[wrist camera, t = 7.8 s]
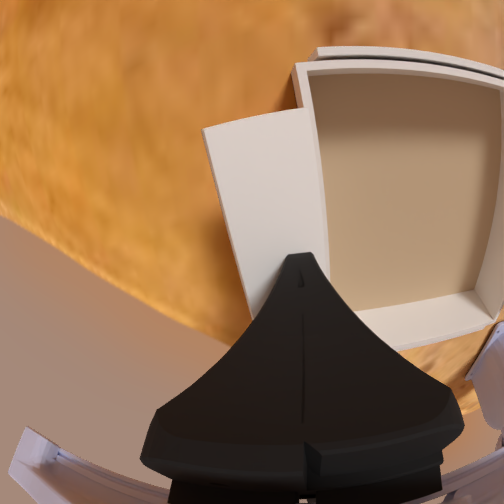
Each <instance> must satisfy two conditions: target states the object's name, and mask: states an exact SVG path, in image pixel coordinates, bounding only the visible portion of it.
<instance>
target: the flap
mask: <svg viewBox="0 0 504 504" xmlns="http://www.w3.org/2000/svg"><path fill="white" fill-rule="evenodd" d="M201 132H202V136H203V140H204V144H205V148H206V152H207V156H208V160H209V164H210V168H211V171H212V175H213V179H214V183H215V187H216V191H217V194H218V198H219V202H220V206H221V210H222V213H223V217H224V221H225V224H226V228H227V232H228V236H229V239H230V243H231V247H232V250H233V254H234V257H235V261H236V265H237V268H238V272H239V276H240V279H241V283H242V286H243V290H244V293H245V297H246V300H247V304H248V307H249V311H250V314H251V318H252V321H253V320H254V318H255V317H256V316H257V314H258V313H259V311H260V309H261V308H262V306H263V304H264V303H265V301H266V299H267V298H268V296H269V294H270V292H271V290H272V288H273V287H274V285H275V283H276V281H277V278H278V276H279V274H280V272H281V269H282V267H283V264H284V261H285V258H286V256H287V255H288V254H295V253H304V252H311V253H313V254H314V256H315V259H316V261H317V263H318V265H319V266H320V268H321V270H322V271H323V273H324V275H325V276H326V259H325V244H324V230H323V218H322V207H321V197H320V188H319V179H318V170H317V162H316V155H315V148H314V141H313V134H312V127H311V121H310V115H309V109H308V107H306V108H297V109H290V110H284V111H279V112H273V113H268V114H263V115H258V116H253V117H248V118H244V119H239V120H235V121H231V122H227V123H223V124H219V125H215V126H211V127H207V128H204V129H201Z"/></svg>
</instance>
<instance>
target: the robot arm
mask: <svg viewBox="0 0 504 504" xmlns="http://www.w3.org/2000/svg"><path fill="white" fill-rule="evenodd" d="M468 380H472V383H473V385H474V388H475V391H476V394H477V397H478V400H479V403H480V406H481V409H482V412H483V416H484V419H485V421H486V422H487V424H488V425H489V426H491V427H492V428H494V429H497V430H501V432H502V434H501V435H500V436H499V438H498V442H497V444H496V448H495V451H494V452H493V453H491V454H489V455H487V456H485V457H483V458H481V459H479V460H477V461H475V462H473V463H471V464H468V465H466V466H464V467H462V468H459V469H457V470H455V471H452V472H450V473H447V474H445V475H442V476H441V473H440V465H441V464H442V463H443V454H442V449H444V448H445V447H446V446H448V445H449V444H450V443H451V442H453V441H454V440H455V439H456V438H457V437H458V436H459V435H460V434H461V433H462V431H463V429H464V426H465V425H464V421H463V417H462V414H461V410H460V408H459V405H458V403H457V401H456V398H455V396H454V394H453V392H452V390H451V388H449V387H448V386H446V385H444V384H443V383H441V382H439V381H438V380H436V379H434V378H433V377H431V376H429V375H428V374H426V373H424V372H423V371H421V370H420V369H419V368H417V367H416V366H414V365H413V364H412V363H410V362H409V361H407V360H406V359H405V358H403V357H402V356H401V355H400V354H398V353H397V352H396V351H395V350H394V349H392V348H391V347H390V346H389V345H388V344H386V343H385V342H384V341H383V340H381V339H380V338H379V337H378V336H377V335H376V334H375V333H374V332H373V331H372V330H371V329H370V328H369V327H367V326H366V325H365V323H364V322H363V321H362V320H361V319H360V318H359V317H358V316H357V315H356V314H355V313H354V312H353V311H352V310H351V309H350V307H349V306H348V305H347V304H346V303H345V301H344V300H343V299H342V298H341V297H340V295H339V294H338V293H337V291H336V290H335V289H334V287H333V286H332V285H331V283H330V282H329V280H328V279H327V278H326V276H325V275H324V273H323V271H322V270H321V268H320V266H319V265H318V263H317V261H316V259H315V256H314V254H313V253H311V252H304V253H295V254H288V255H287V256H286V258H285V261H284V264H283V267H282V269H281V272H280V274H279V276H278V278H277V281H276V283H275V285H274V287H273V288H272V290H271V292H270V294H269V296H268V298H267V299H266V301H265V303H264V304H263V306H262V308H261V309H260V311H259V313H258V314H257V316H256V317H255V318H254V320H253V321H252V323H251V324H250V325H249V327H248V328H247V329H246V331H245V332H244V333H243V335H242V336H241V337H240V338H239V339H238V340H237V342H236V343H235V344H234V345H233V346H232V347H231V348H230V350H229V351H228V352H227V353H226V354H225V355H224V356H223V357H222V358H221V359H220V360H219V361H218V362H217V363H216V364H215V365H214V366H213V367H212V368H210V369H209V370H208V371H207V372H206V373H205V374H204V375H203V376H202V377H200V378H199V379H198V380H197V381H196V382H195V383H193V384H192V385H191V386H190V387H189V388H187V389H186V390H184V391H183V392H182V393H180V394H179V395H178V396H176V397H175V398H173V399H172V400H171V401H169V402H168V403H166V404H165V405H163V406H162V407H160V408H159V409H157V411H156V413H155V415H154V417H153V419H152V421H151V424H150V426H149V429H148V432H147V436H146V439H145V442H144V445H143V449H142V453H141V456H140V460H141V462H142V463H143V464H144V465H145V466H147V467H148V468H150V469H152V470H154V471H156V472H158V473H160V474H162V475H164V476H166V477H168V478H170V479H172V484H171V488H170V490H169V489H165V488H161V487H157V486H154V485H151V484H147V483H144V482H141V481H138V480H135V479H132V478H128V477H126V476H123V475H120V474H117V473H115V472H112V471H110V470H107V469H105V468H102V467H100V466H98V465H95V464H93V463H91V462H89V461H87V460H84V459H82V458H80V457H78V456H76V455H74V454H72V453H70V452H68V451H66V450H64V449H62V448H61V447H59V446H58V445H57V444H55V443H54V442H52V441H51V440H49V439H48V438H46V437H45V436H43V435H42V434H40V433H38V432H37V431H35V430H34V429H32V428H30V427H29V426H26V428H25V430H24V432H23V434H22V437H21V440H20V442H19V444H18V446H17V449H16V451H15V454H14V457H13V459H12V462H11V465H10V468H9V470H8V473H9V475H10V476H11V477H12V478H13V479H14V480H15V481H16V482H17V483H18V484H19V485H20V486H22V488H24V490H26V492H28V493H29V494H30V496H31V497H32V498H33V499H34V500H35V501H36V502H37V503H38V504H420V503H423V502H426V501H429V500H432V499H435V498H438V497H440V496H443V495H445V494H447V496H446V497H445V499H444V501H443V502H442V503H439V504H504V321H502V322H500V323H498V324H497V325H496V326H495V328H494V330H493V331H492V333H491V335H490V337H489V339H488V341H487V342H486V344H485V346H484V348H483V349H482V351H481V353H480V354H479V356H478V358H477V359H476V361H475V363H474V364H473V366H472V367H471V369H470V370H469V372H468V373H467V375H466V376H465V381H468ZM299 499H307V501H308V503H299Z"/></svg>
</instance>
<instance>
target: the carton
mask: <svg viewBox="0 0 504 504" xmlns="http://www.w3.org/2000/svg"><path fill="white" fill-rule="evenodd" d="M291 76H292V81H293V86H294V91H295V96H296V102H297V107H298V108H306V107H308V109H309V115H310V121H311V127H312V134H313V141H314V148H315V155H316V162H317V170H318V179H319V188H320V197H321V207H322V218H323V230H324V244H325V259H326V278H327V279H328V280H329V282H330V283H331V285H332V286H333V287H334V289H335V290H336V291H337V293H338V294H339V295H340V297H341V298H342V299H343V300H344V301H345V303H346V304H347V305H348V306H349V307H350V309H351V310H352V311H353V312H354V313H355V314H356V315H357V316H358V317H359V318H360V319H361V320H362V321H363V322H364V323H365V325H366V326H367V327H369V328H370V329H371V330H372V331H373V332H374V333H375V334H376V335H377V336H378V337H379V338H380V339H381V340H383V341H384V342H385V343H386V344H388V345H389V346H390V347H391V348H392V349H394V350H395V351H401V350H406V349H411V348H415V347H420V346H424V345H428V344H433V343H436V342H440V341H444V340H448V339H452V338H455V337H459V336H462V335H466V334H469V333H472V332H475V331H478V330H481V329H484V327H485V326H486V325H489V324H492V323H495V322H496V320H497V318H498V315H499V313H500V311H501V309H502V307H503V305H504V70H502V69H499V68H496V67H493V66H489V65H486V64H483V63H479V62H475V61H471V60H467V59H463V58H459V57H454V56H449V55H444V54H439V53H433V52H426V51H419V50H411V49H402V48H390V47H371V46H336V47H317V48H316V49H315V50H314V52H313V53H312V54H311V55H310V57H309V58H308V62H301V63H295V64H294V66H293V69H292V71H291Z"/></svg>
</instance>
